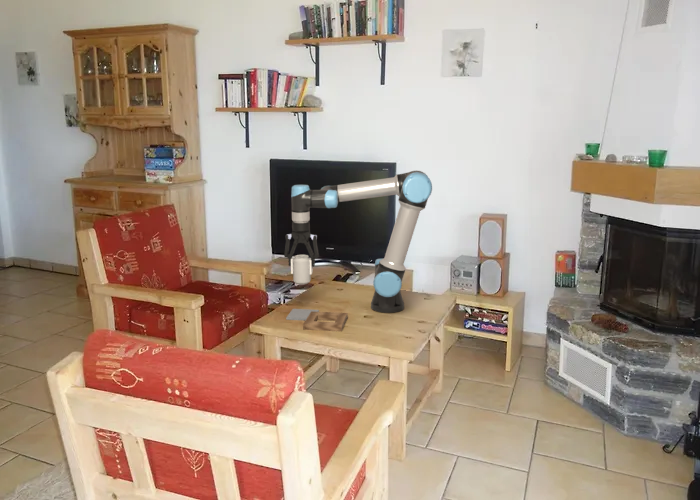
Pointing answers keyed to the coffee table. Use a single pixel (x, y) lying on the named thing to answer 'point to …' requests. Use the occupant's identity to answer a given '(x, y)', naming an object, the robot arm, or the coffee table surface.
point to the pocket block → (325, 326)
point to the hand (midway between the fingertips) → (301, 273)
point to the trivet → (299, 314)
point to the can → (301, 269)
